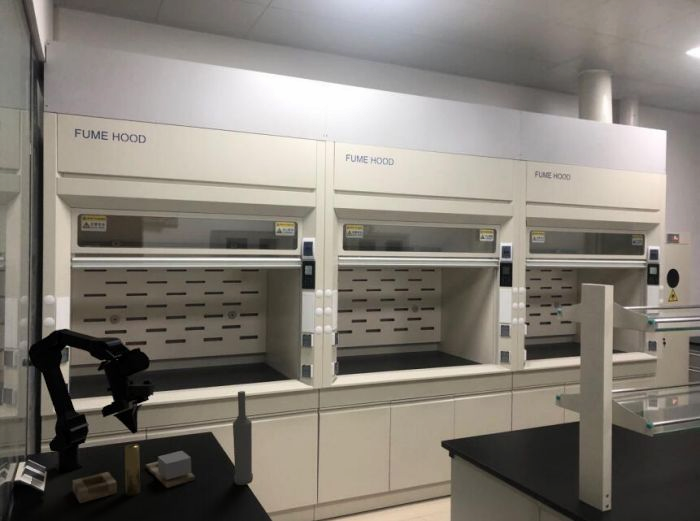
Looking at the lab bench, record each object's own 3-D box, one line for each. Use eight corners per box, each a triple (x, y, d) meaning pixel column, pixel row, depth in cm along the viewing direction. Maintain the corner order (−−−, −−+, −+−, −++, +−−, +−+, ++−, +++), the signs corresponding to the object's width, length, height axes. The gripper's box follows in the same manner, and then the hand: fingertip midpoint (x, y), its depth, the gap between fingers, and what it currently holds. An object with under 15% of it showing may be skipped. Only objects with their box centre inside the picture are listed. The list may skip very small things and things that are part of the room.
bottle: (256, 478, 152) (254, 390, 152) (247, 486, 147) (244, 395, 147) (240, 476, 154) (238, 389, 153) (230, 484, 149) (228, 393, 148)
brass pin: (124, 492, 145) (122, 446, 145) (138, 488, 147) (136, 442, 147) (128, 496, 142) (126, 449, 142) (142, 492, 144) (140, 446, 144)
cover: (158, 471, 154) (157, 456, 154) (182, 465, 158) (181, 450, 158) (166, 479, 149) (166, 463, 149) (191, 472, 153) (190, 457, 153)
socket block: (72, 491, 146) (72, 480, 146) (108, 482, 152) (107, 471, 152) (80, 503, 139) (79, 491, 139) (116, 493, 145) (116, 482, 144)
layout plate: (146, 467, 161) (146, 463, 161) (172, 460, 166) (172, 456, 166) (166, 487, 147) (166, 483, 147) (195, 479, 152) (195, 475, 152)
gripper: (132, 374, 147) (150, 429, 145) (156, 368, 165) (172, 417, 164) (93, 388, 146) (110, 444, 145) (122, 380, 165) (137, 430, 163)
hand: (135, 432), depth 154 cm, fingers closed
